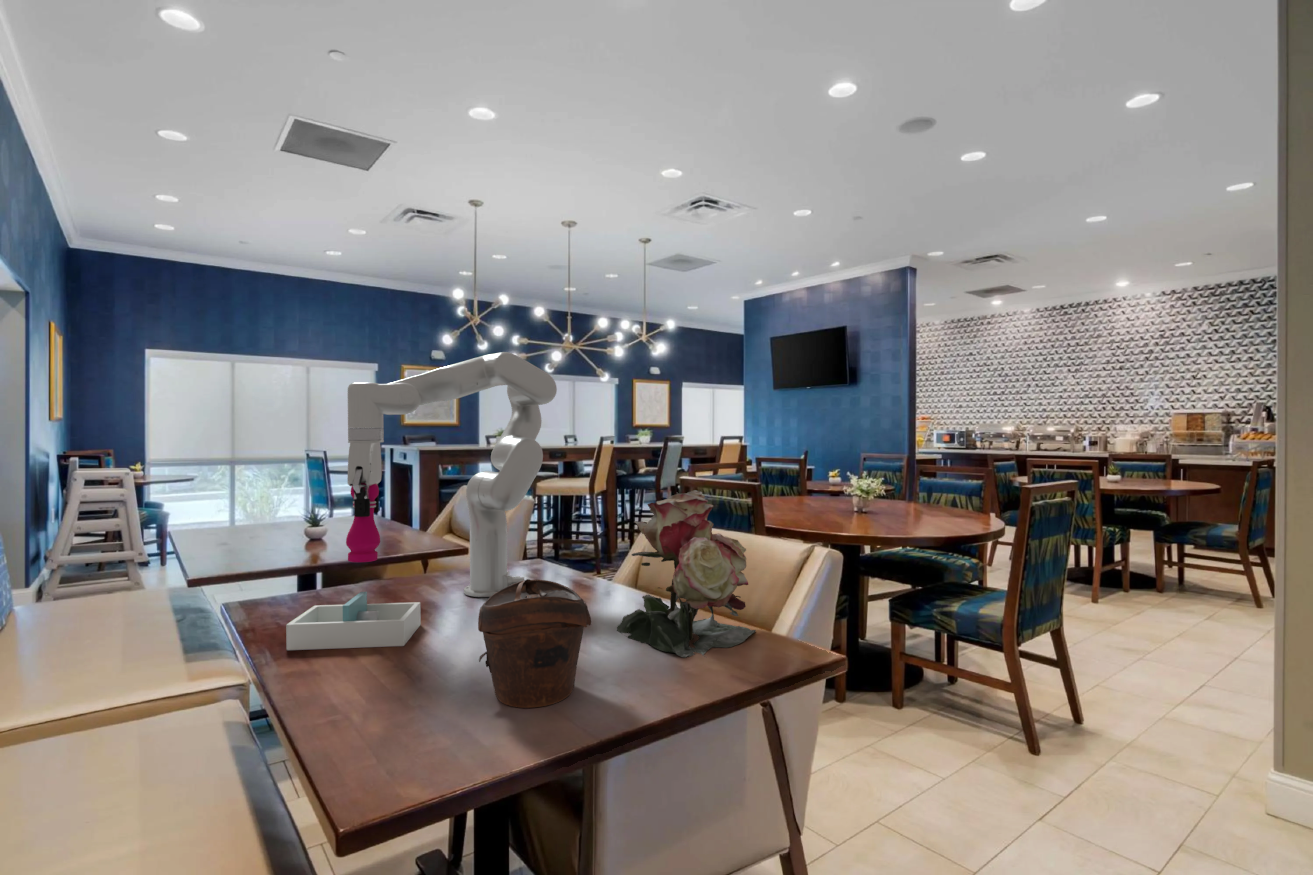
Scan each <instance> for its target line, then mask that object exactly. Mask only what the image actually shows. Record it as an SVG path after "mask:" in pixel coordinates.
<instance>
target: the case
mask: <svg viewBox="0 0 1313 875" xmlns="http://www.w3.org/2000/svg"><path fill="white" fill-rule="evenodd" d="M478 611H479V612H478V619H477V620H478V621H477V622H478V623H477V626H478V627H477V629H478V631H479V632H480V633H482V635H483V640H484V645H485V650H486V651H485V652H484V653H482V654H481V655H480V656H479V658H478V662H479V663H480V662H481V660H482V659H483V658H484V657H485V656H486V660H485V666H486V668H488V669H489V673H490V675H491V679H492V680H491V681H492V684H493V690H494V695H495V697H496V698H497V700H498V701H500V703H502V704H503V705H506V706H508V707H514V708H519V709H520V708H523V709H533V708H541V707H546V706H551V705H553V704H556V703H559V702H561V701H563V700H565V699H566V698H567V697H569V696H570V695H571V694H572V692H573V689H574V688H575V682H576V681H575V680H576V674H577V666H578V662H579V655H580V651H581V650H580V649H581V645H582V638H583V633H584V628H587V627H588V626H591V625H592V617H591V615H590V612H589V607H588V604H587V603H586V601H585V600H584V599H583V598H582V597H581V596H580V595H579V594H578V593H577V591H575V590H573V589H572V588H570V587H568V586H565V585H563V584H561V583H558V582H556V581H552V580H546V579H539V578H536V579H529V578H528V579H527V578H526V579H524V581H521V582H518V583H515V584H512V585H510V586H507V587H505V588H503V589H501V590H500V591H498V592H497V593H495V594H493V595H492V596H491V597H488V599H487V600H485V601H484V603H482V605H481V606H480V609H479V610H478Z"/></svg>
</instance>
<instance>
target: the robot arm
mask: <svg viewBox="0 0 1313 875" xmlns="http://www.w3.org/2000/svg"><path fill="white" fill-rule="evenodd" d="M498 386H507V387H506V394H507V397H508V400H509V403H510V406H511V407H510V408H511V416H510V419H509V421H508V423H507V425H506V427H505V428H504V430H503V431H502V433H501V435H500V436H499V438H498V440H497V442H496V443H495V445H494V447H493V449H492V451H491V453H490V454H491V455H490V461H491V464H492V466H493V467H494V468H495V469H497V470H499V472H497V471H489V470H485V471H481V472H477V473H476V474H474V475H473V476H472V477H471V478H470V479H469V480H468V482H467V485H466V490H465V493H466V502H467V508H468V516H469V518H468V519H469V584H468V585H467V586H465V587H464V588H463V593H464V595H466V596H468V597H472V598H473V597H475V598H490V597H491V596H492V595H493V594H495V593H497V592H498V591H500V590H501V589H503V588H505V587H507V586H510V585H512V584H515V583H518V582H521V581H524V580H525V577H523V576H521V575H520V576H519V575H517V576H516V575H515V576H513V575H510V571H508V523H507V522H508V520H507V515H506V512H509V511H511V510H513V509H515V508H517V507H518V506H519V505H520V504H521V502H522V501H523V500H524V498H525V496H526V495H527V493H528V491H529V490H530V488H531V486H532V485H533V482H534V480H535V478H536V477H537V475H538V474H539V471H540V469H541V467H542V464H543V458H544V452H543V448H542V447H541V444H540V443H539V442H538V441H537V440H536V439H537V437H538V435H539V433H540V430H541V428H542V415H541V410H540V406H541V405H547V404H549V403H550V402H552V401H553V400H554V399H555V397H556V395H557V390H558V388H557V383H556V381H555V379H554V378H553V377H552V376H551V374H549V373H548V372H546V371H544V370H543V369H541V368H539V367H537V366H536V365H534V364H532V363H530V362H529V361H528V360H526V359H524V358H522V357H520V356H518V355H516V354H514V353H512V352H508V351H502V352H501V351H500V352H496V353H489V354H484V355H481V356H478V357H474V358H470V359H467V360H464V361H460V362H456V363H453V364H450V365H447V366H446V365H445V366H443V367H439V368H436V369H432V370H429V371H428V372H424V373H421V374H417V375H413V376H410V377H406V378H402V379H399V380H396V381H393V382H388V383H378V382H369V381H368V382H361V381H360V382H359V381H358V382H357V381H356V382H352V383H350V384H349V385H348V387H347V443H348V444H349V447H348V458H347V460H348V461H347V485H348V486H350V487H352V486H353V488H354V498H353V501H354V511H353V512H354V514H355V517H368V516H370V499H368V494H369V486H371V485H373V484H377V485H378V487H379V483H380V482H381V481H382V475H383V474H382V471H383V470H382V448H381V443H384V442H385V440H384V437H385V436H384V435H385V434H384V432H385V431H384V415H388V416H393V415H399V416H400V415H401V416H403V415H408V414H411V413H413V412H414V411H415V412H416V410H417V409H418V408H419V407H420V406H422V405H426V404H427V405H428V404H431V403H437V402H445V401H446V402H447V401H452V400H457V399H460V398H463V397H466V396H469V395H473V394H476V393H479V392H481V391H485V390H488V389H490V388H494V387H498ZM361 483H365V484H366V485H361ZM363 488H364V489H365V492H364V489H363ZM374 501H376V503H375V504H376V507H374V514H378V513H379V512H380V507H379V506H380V503H379V495H378V496H377V497H376V498H375V500H374Z"/></svg>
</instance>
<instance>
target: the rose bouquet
mask: <svg viewBox="0 0 1313 875" xmlns="http://www.w3.org/2000/svg"><path fill="white" fill-rule="evenodd" d="M705 498H706V496H705V495H703V492H702V491H698V490H690V491H688V492H687V493H685V492H684V493H678V492H677V491H676V493H675V494H674V495H670V496H668V497H667V498H665V499H663V500H662V499H661V500H657V501H655V502H650V503H646V504H647V506H648V507H649V512H650V513H652V514H653V515H652V516H651V517H650V519H649V520H648V521H647V523H646V522H645V521H637V520H635V521H633V523H634V524H636V527H637V528H638V530H639V531H640V532H641V534H642V535H644V537H645V539H646V540H647V542H648V543H649V544H650V545H651V547H652V548H653V549H654V550H655V551H640V552H639V551H638V552H634V553H631V556H632V557H637V556H640V557H647V558H654V559H656V558H657V559H660V558H662V560H661V563H663V562H671V561H673V565H674V570H673V571H674V572H673V575H672V579H671V585H670V586H667V587H666V588H665V591H666V592H669V593H670V599H669V602H670V606H669V605H668V604H666V602H663V599H662V597H657V596H656V597H655V596H653V595H651V594H648V593H647V594H645V595H643V596H641V598H642V599H643V608H644V610H642V609H641V608H639V609H637V610H634V611H633V612H631V613H629V614H626V615H623V618H622V620H621V622H620V624H618V625H617V626H616V632H618V633H620V634H621V635H623V633H624V634H627V635H628V634H629V635H628V636H626V635H624V636H625V637H626V638H628V639H631V640H634V641H637V642H639V643H641V644H644V643H645V644H648V645H650V646H651V647H653V648H655V649H657V650H659V651H662V652H665V653H670V654H675V655H676V656H679V657H681V658H690V657H692V656H695V655H696V654H695V653H698V654H700V655H702V656H703V657H704V658H706V656H705V654H706V652H707V651H709V650H710V649H711V648H726V649H727V648H729V649H730V648H732V647H735V646H737V645H740V644H741V643H744V642H745V641H746V639H748V638H749V637H750V636H751V635H752V634H754V633H757V632H756V631H757V630H756V629H751V628H748V627H745V626H740V625H733V624H725V623H720V622H718V620H716V619H715V616H714V608H718V609H719V608H722V607H724V608H725V609H727V610H729V611H731V612H729V614H730V615H731V616H734V617H739V614H738V612H737V610H739V611H742V610H744V609H745V608H746V602H745V601H743V600H741V596H740V595H735V594H734V592H735V590H736V589H737V587H741V586H748V585H749V581H748V580H747V578H746V575H745V573H743V572H742V571H745V569H746V568H747V557H746V555H745V554H744V553H746V551H747V548H745V547H744V546H743V545H742V543H741V542H740V541H739V540H738V539H735V538H731V537H728V536H725V535H723V534H722V533H719V532H718V533H713V532H712V530H713V527H714V523H713V522H712V521H711V520H708V517H709V514H710V512H711V511H712V509H713V508H714V505H713V504H709V501H708V499H705ZM606 565H607V564H604V566H606ZM641 566H644V567H649V566H651V562H648V561H646V562H641ZM657 589H661V590H663V588H662V587H657ZM682 599H683V600H685V601H682ZM677 600H679V602H680V603H679V607H678V605H677ZM705 607H707V608H708V609H709V610H710V612H711V616H710V617H709V618H702V619H699V620H695V617H696V615H698V611H699V609H705ZM713 607H714V608H713ZM733 609H734V610H733ZM693 634H694V635H696V636H697V637H698V639H697V640H695V641H694V642H693V643H692V645H693V647H692V646H690V641H692V640H694V635H693Z"/></svg>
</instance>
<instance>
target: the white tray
mask: <svg viewBox="0 0 1313 875" xmlns="http://www.w3.org/2000/svg"><path fill="white" fill-rule="evenodd" d="M343 605H344V604H321V605H320V604H319V605H316V604H315V605H313V606H312V607H310V608H308V609H307V610H306V611H305V612H303V613H302V614H300V615H298V616H297V617H296V618H294V619H292V620H291V621H290V622H288V623H287V624H286V625H285V626H286V628H285V630H286V632H285V633H286V634H285V636H286V643H285V644H286V651H302V650H303V651H305V650H306V651H307V650H328V649H329V650H331V649H353V648H354V649H355V648H381V647H383V648H384V647H404V646H405V645H406V644H407V643H408V642H409V640H410V639H411V638H412V636H413V635H414V634H415V632H416V631H417V630H418V629H419V628H420V627H421V602H420V601H418V602H415V601H413V602H388V603H386V602H383V603H381V602H379V603H367V611H378V620H370V621H343Z"/></svg>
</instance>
